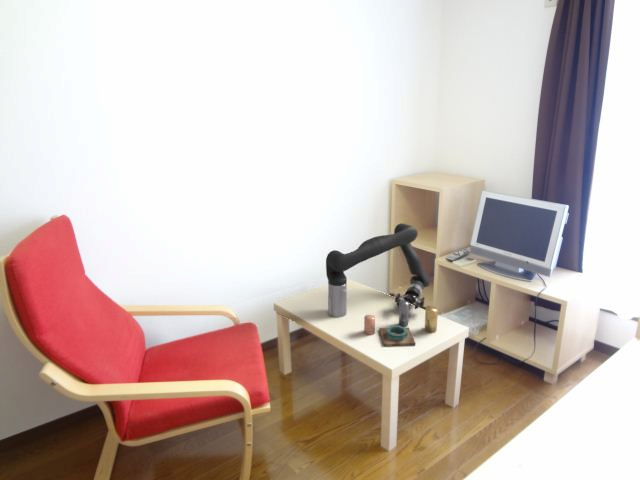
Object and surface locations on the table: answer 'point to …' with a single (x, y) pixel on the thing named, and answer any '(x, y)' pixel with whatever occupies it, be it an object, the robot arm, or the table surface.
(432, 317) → the brass peg
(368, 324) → the terracotta peg
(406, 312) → the steel peg
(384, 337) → the ring board
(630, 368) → the table surface
